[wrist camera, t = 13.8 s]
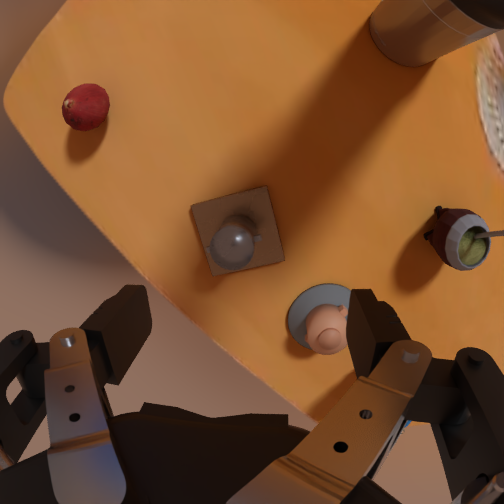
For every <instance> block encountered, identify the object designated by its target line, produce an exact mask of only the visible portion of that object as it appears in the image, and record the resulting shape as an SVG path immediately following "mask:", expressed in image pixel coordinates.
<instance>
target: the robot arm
mask: <svg viewBox="0 0 504 504" xmlns="http://www.w3.org/2000/svg"><path fill="white" fill-rule="evenodd" d="M369 29H370V33H371V36H372V38H373V40H374V42H375V44H376V45H377V47H378V48H379V49H380V50H381V51H382V52H383V54H384V55H386V56H387V57H388V58H390V59H391V60H393V61H395V62H396V63H398V64H401V65H404V66H410V67H417V66H421V65H424V64H426V63H429V62H431V61H433V60H435V59H437V58H439V57H441V56H444V55H446V54H448V53H450V52H452V51H454V50H457V49H459V48H461V47H463V46H465V45H468V44H470V43H472V42H475V41H477V40H479V39H482V38H484V37H486V36H489V35H491V34H493V33H496V32H498V31H501V30H503V29H504V0H382V1H381V2H380V4H379V5H378V6H377V7H376V9H375V10H374V11H373V13H372V15H371V17H370V21H369ZM151 329H152V318H151V313H150V307H149V302H148V296H147V291H146V288H145V287H144V286H143V285H125V286H124V287H123V288H122V289H121V290H120V291H119V292H118V293H117V294H116V295H115V296H113V297H111V298H109V299H107V300H106V301H104V302H103V303H102V304H101V305H100V306H99V308H98V309H96V310H95V311H94V313H93V314H91V315H90V316H89V318H88V319H87V320H86V321H85V322H84V323H83V324H82V325H81V326H80V327H79V328H67V329H63V330H60V331H58V332H57V333H55V334H54V335H53V336H52V337H51V339H50V342H45V343H36V342H35V339H34V337H33V334H32V333H31V332H30V331H27V330H20V331H16V332H13V333H11V334H9V335H8V336H6V337H5V338H4V339H3V340H2V341H1V342H0V504H402V503H400V502H399V501H398V500H396V499H395V498H394V497H393V496H391V495H390V494H389V493H387V492H386V491H385V490H384V489H382V488H381V487H380V486H379V485H377V484H376V483H375V482H374V481H373V480H374V478H375V476H376V475H377V473H378V471H379V470H380V468H381V466H382V465H383V463H384V461H385V459H386V458H387V456H388V455H389V453H390V451H391V449H392V448H393V446H394V444H395V443H396V441H397V439H398V438H399V436H400V434H401V432H402V431H403V429H404V427H405V425H406V423H407V421H408V420H409V421H417V422H426V423H430V424H431V427H432V430H433V433H434V436H435V439H436V443H437V446H438V450H439V453H440V456H441V460H442V463H443V467H444V471H445V474H446V478H447V482H448V486H449V489H450V493H451V498H452V502H451V503H450V504H504V375H503V373H502V372H501V370H500V369H499V367H498V366H497V364H496V363H495V361H494V360H493V358H492V357H491V356H490V355H489V354H488V353H487V352H485V351H483V350H481V349H478V348H473V347H467V348H463V349H461V350H459V351H458V352H457V354H456V357H455V360H446V359H437V358H433V357H432V353H431V351H430V349H429V348H428V347H427V346H425V345H424V344H422V343H420V342H417V341H413V340H411V338H410V336H409V334H408V333H407V331H406V329H405V327H404V326H403V324H402V323H401V320H400V319H399V317H397V314H396V312H395V310H394V309H393V307H391V306H390V305H389V304H387V303H386V302H384V301H378V300H377V299H376V297H375V295H374V293H373V291H372V290H371V289H352V290H351V293H350V300H349V308H348V316H347V323H346V339H347V343H348V347H349V350H350V354H351V358H352V361H353V365H354V369H355V372H356V376H357V380H356V381H355V382H354V384H353V385H352V386H351V387H350V388H349V390H348V391H347V392H346V393H345V394H344V396H343V397H342V398H341V399H340V400H339V401H338V402H337V404H336V405H335V406H334V407H333V408H332V409H331V410H330V412H329V413H328V414H327V415H326V416H325V417H324V418H323V419H322V420H321V421H320V423H319V424H318V425H317V426H316V427H315V428H314V429H313V430H312V431H311V432H310V431H308V430H305V429H302V428H299V427H296V426H291V425H288V414H243V415H236V416H227V417H217V418H210V417H206V416H202V415H199V414H196V413H193V412H190V411H187V410H184V409H181V408H178V407H173V406H165V405H159V404H152V403H146V402H144V404H143V406H142V408H141V410H140V412H131V413H125V414H120V415H117V416H114V415H113V412H112V409H111V406H110V403H109V400H108V397H107V394H106V391H105V388H104V386H105V384H106V383H109V384H114V385H119V384H120V382H121V380H122V379H123V377H124V375H125V374H126V372H127V370H128V369H129V367H130V366H131V364H132V362H133V361H134V359H135V357H136V356H137V354H138V353H139V351H140V349H141V348H142V346H143V345H144V343H145V341H146V340H147V338H148V336H149V335H150V333H151ZM15 377H17V379H18V381H19V383H20V385H21V387H22V390H21V392H20V393H19V394H18V396H17V397H16V398H15V400H14V401H13V402H12V404H11V405H10V404H9V402H8V400H7V398H6V390H7V387H8V386H9V384H10V383H11V382H12V381H13V379H14V378H15ZM46 414H47V420H48V429H49V437H50V448H49V449H47V450H45V451H43V452H41V453H38V454H36V455H34V456H32V457H30V458H28V459H25V460H23V461H21V462H19V463H17V462H18V460H19V459H20V457H21V455H22V454H23V452H24V450H25V449H26V447H27V445H28V444H29V442H30V440H31V439H32V437H33V435H34V434H35V432H36V430H37V429H38V427H39V426H40V424H41V422H42V421H43V419H44V418H45V416H46Z"/></svg>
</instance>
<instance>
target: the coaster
mask: <svg viewBox="0 0 504 504" xmlns="http://www.w3.org/2000/svg"><path fill="white" fill-rule="evenodd" d="M350 293H351V290H349V289H348V288H346V287H344V286H341V285H338V284H330V283H329V284H320V285H316V286H313V287H311V288H309V289H307V290H305V291H304V292H302V293H301V294H300V295H299V296H298V297H297V298H296V299H295V300H294V302H293V304H292V305H291V308H290V310H289V315H288V325H289V330H290V332H291V334H292V336H293V338H294V339H295V340H296V341H297V342H298V343H299V344H301V345H302V346H304V347H306V348H308V349H312V348H311V347H310V345H309V344H308V343H307V342H306V341H305V335H306V334H307V329H306V317H307V315H308V313H309V312H310V311H311V310H312V309H313V308H314V307H316V306H318V305H321V304H333V305H336V306H338V307H339V306H341V305H342V304H343V305H344V306H345V307H346V308H347V310H348V308H349V300H350ZM347 316H348V314H347V315H346V316H345V319H346V321H347Z"/></svg>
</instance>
